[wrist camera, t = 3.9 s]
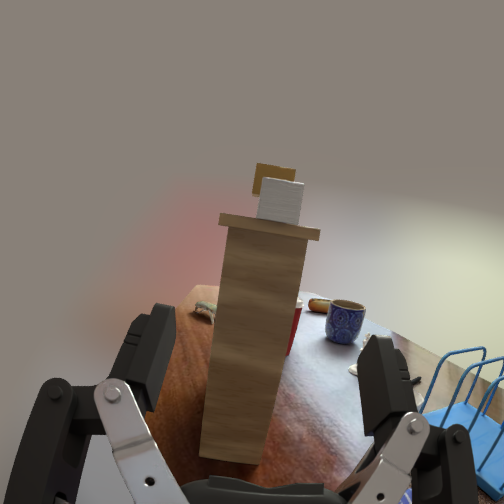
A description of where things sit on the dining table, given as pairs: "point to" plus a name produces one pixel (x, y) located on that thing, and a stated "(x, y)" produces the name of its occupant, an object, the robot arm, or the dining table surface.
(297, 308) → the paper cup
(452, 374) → the dining table surface
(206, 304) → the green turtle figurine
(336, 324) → the planter
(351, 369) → the chess piece
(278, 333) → the stand
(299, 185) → the mallet
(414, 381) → the pen
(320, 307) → the hot dog
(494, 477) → the file sorter
